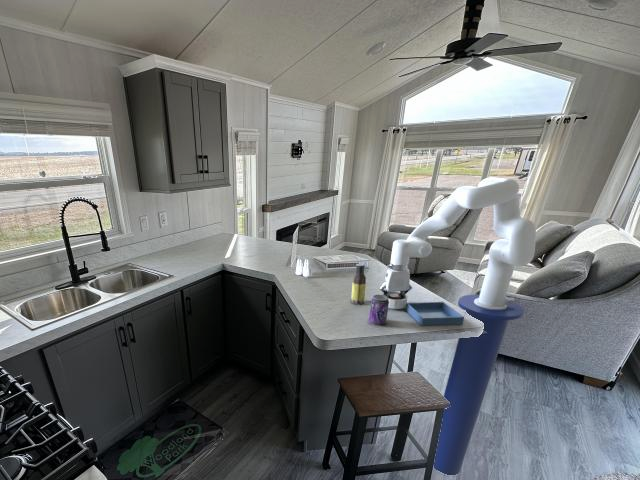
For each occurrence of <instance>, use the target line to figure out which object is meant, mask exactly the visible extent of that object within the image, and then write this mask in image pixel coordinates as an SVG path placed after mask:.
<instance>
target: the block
mask: <svg viewBox="0 0 640 480" xmlns="http://www.w3.org/2000/svg"><path fill="white" fill-rule="evenodd" d="M389 296H390V299H393V300H400V298H401V297H400V296H399V295H398V294H390V295H389Z"/></svg>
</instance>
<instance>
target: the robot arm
mask: <svg viewBox="0 0 640 480" xmlns="http://www.w3.org/2000/svg"><path fill="white" fill-rule="evenodd" d="M519 191H520V184H519V183H518V182H517V181H516V180H515V179H512V178H505V177H495V176H493V177H492V176H490V177H486V178H483V179H482V180H481V181H479V183H478V185H477V186H472V185H462V186H459V187H457V188H456V189H455V190H453V192H452V193H450V196H448V198H447V199H446V200H445V201H444V202H443V204H442V205H441V206H440V207H439V208H438V210H437V211H436V212H434V214H433V215H432V216H430V217H429V218H427V219H425V220H424V221H423V222H421V223H419V225H418V226H417V227H416V228H414V230H413V231H412V232H411V233H410V235H408V237H407V239H401V238H400V239H395V240H394V241H393V242H392V248H391V257H390V262H389V264H387V265H386V268H388V269H387V271H386V274H385V277H384V283H383V284H382V285H381V286H380V287H379V290H380V291H381V292H382V294H383V293H384V294H385V296H387V297H388V298H389V299H390V296H389V295H390V293H391V292H392V291H395V292H400V294H399V296H400V297H401V298H400V300H402V299H404V296H405V294H406V295H407V293H409V292H410V291H411V290H412V289H413V287H412V285H411V284H410V281H411V273H410V269H409V263H410V258H417V259H418V258H419V259H420V258H426V257H429V256H430V255H431V254H432V252H433V246H432V244H431V243H430V242H429V241H427V239H428V238H429V237H430V236H431V235H433V234H434V233H436V232H437V231H440V230H444V229H447V228H450V227H452V226H453V225H454V224H455V223H456V222H457V220H458V219H459V218H460V217H461V216H462V215H463V214H464V212H466V210H467V209H468V210H478V209H483V208H488V207H491V206H492V207H493V233H494V234H495V235H496V236H497V237H499V239H497V240H495V241H494V242H493V243H492V244H491V245H490V247H489V251H488V264H487V267H486V271H485V275H484V278H483V282H482V285H481V289H480V292H479V295H480V296H479V298H477V299H475V300H474V303H475V304H476V305H477V306H479V307H481V308H485V309H489V310H504V309H506V308H507V305H506V303H507V302H514V303H515V302H516V299H515V298H514V297H508V296H507V293H508V290H509V286H510V283H511V280H512V277H513V273H514V267H518V268H520V267H525V266H527V265H529V264H530V263H531V262H532V261H533V259H534V257H535V253H536V242H537V241H536V240H537V227H536V224H535V223H534V222H533V221H532V220H531V219H528V218H525V217H522V216H521V211H520V209H521V208H520V199H519V196H518V193H519Z"/></svg>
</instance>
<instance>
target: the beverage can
mask: <svg viewBox="0 0 640 480" xmlns="http://www.w3.org/2000/svg"><path fill="white" fill-rule="evenodd" d="M388 306H389V300H388V297H387V296H385V295H382V294H374V295H372V298H371V301H370V308H369V315H368V321H369V323H372V324H373V325H377V326H381V325H384V324H386V323H387V319H388V312H389V308H388Z"/></svg>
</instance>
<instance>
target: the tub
mask: <svg viewBox="0 0 640 480" xmlns="http://www.w3.org/2000/svg"><path fill="white" fill-rule="evenodd" d="M404 310H405V311H406V313H408V314H409V315H410V316H411V317H412V318H413V319H414V320H415V321H416V322H417V323H419V325H420V326H448V325H449V326H452V325H453V326H456V325H458V326H459V325H463V324H464V320H465V316H463V315H462V314H461V313H460V312H458V311H457V310H455V309H454V308H452V307H451V306H450V305H448V304H447V303H445V301H425V302H424V301H423V302H422V301H421V302H420V301H419V302H407V303H406V306H405V307H404Z"/></svg>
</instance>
